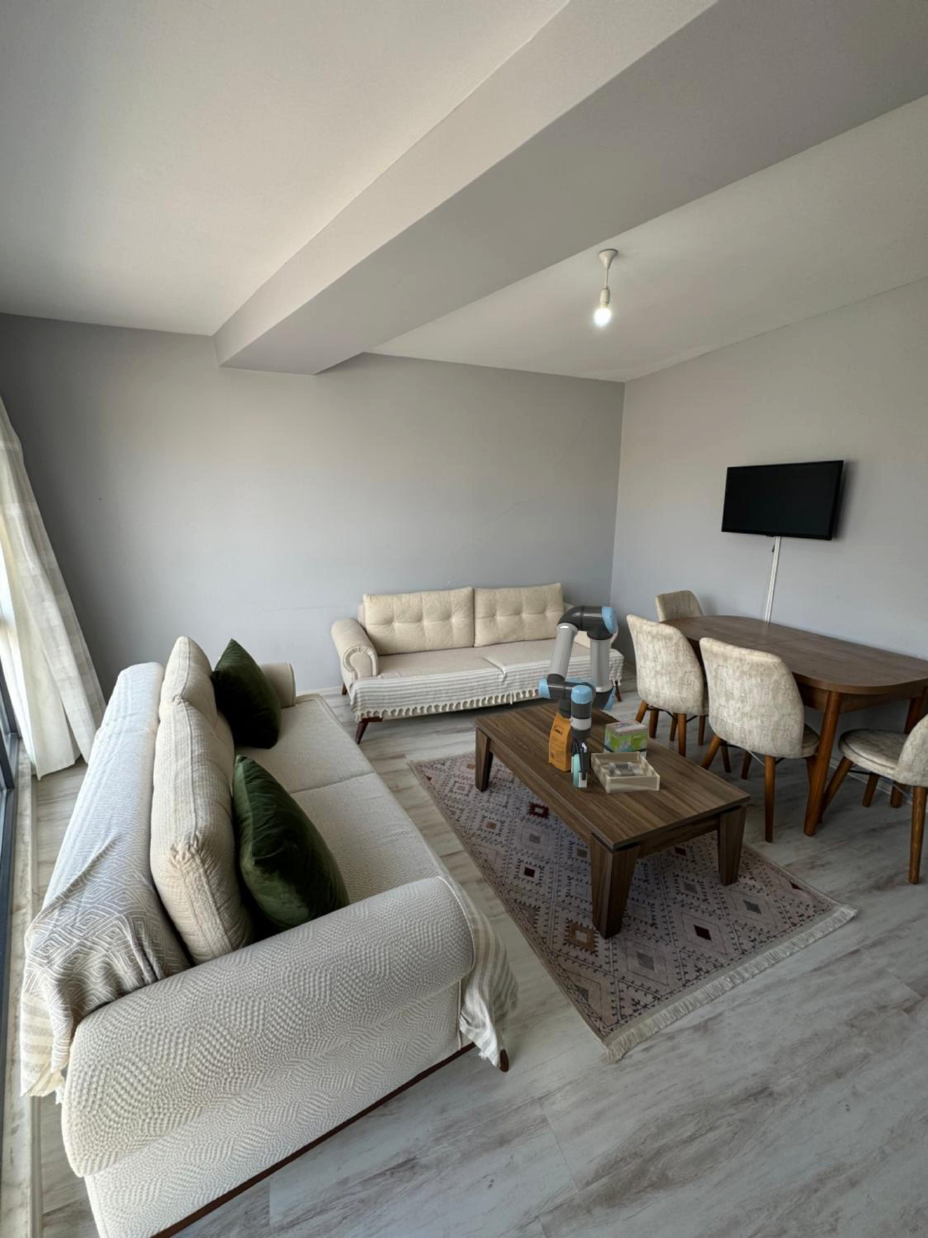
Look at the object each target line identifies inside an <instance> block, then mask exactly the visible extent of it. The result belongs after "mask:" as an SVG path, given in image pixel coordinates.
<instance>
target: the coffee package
mask: <svg viewBox="0 0 928 1238" xmlns="http://www.w3.org/2000/svg"><path fill="white" fill-rule="evenodd" d="M570 727H571V721H570V719H567V718H563V717H562V715H561V714H560V713H559V712H558V711H557V712H556V715H555V716H554V720H553V723H552V726H551V729H550V735H549V743H548V763H550V764H552V765H553V766H554V767H555V768H556V769H557V770H560V771H562V772H568V771H570V770H571V768H572V757H573V756H572V755H571V754H572V753H571V752H570V749H571V742H572V736H571V735H570Z"/></svg>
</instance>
